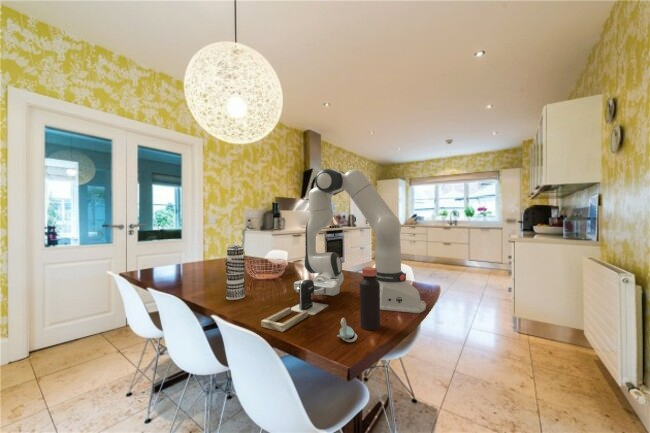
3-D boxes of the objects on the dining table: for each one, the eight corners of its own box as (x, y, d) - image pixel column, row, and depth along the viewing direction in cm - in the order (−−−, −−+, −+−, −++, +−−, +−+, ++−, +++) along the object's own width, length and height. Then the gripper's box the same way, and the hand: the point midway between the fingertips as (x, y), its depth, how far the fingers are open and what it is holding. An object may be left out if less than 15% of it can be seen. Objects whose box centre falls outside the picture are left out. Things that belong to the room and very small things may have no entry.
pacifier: (358, 334, 84) (340, 332, 86) (359, 315, 84) (341, 313, 86) (355, 345, 77) (335, 342, 79) (355, 324, 77) (336, 321, 79)
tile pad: (328, 305, 112) (328, 305, 112) (313, 315, 101) (313, 314, 101) (304, 301, 117) (304, 301, 117) (288, 310, 107) (288, 309, 107)
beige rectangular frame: (307, 316, 100) (307, 311, 100) (282, 331, 86) (282, 325, 86) (288, 312, 104) (288, 307, 104) (261, 326, 91) (261, 320, 91)
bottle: (364, 321, 95) (364, 266, 95) (382, 324, 91) (382, 267, 91) (357, 328, 89) (356, 269, 89) (376, 332, 85) (375, 271, 85)
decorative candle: (249, 294, 129) (248, 244, 130) (238, 300, 120) (238, 246, 121) (232, 293, 131) (232, 244, 132) (221, 299, 122) (221, 246, 123)
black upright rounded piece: (306, 311, 104) (306, 282, 104) (298, 309, 106) (298, 281, 106) (315, 306, 110) (315, 279, 110) (307, 304, 112) (307, 278, 112)
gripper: (303, 275, 125) (285, 281, 113) (342, 279, 115) (327, 286, 103) (303, 288, 125) (286, 296, 113) (342, 293, 115) (327, 302, 103)
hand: (306, 291), depth 108 cm, fingers open, 7 cm apart
